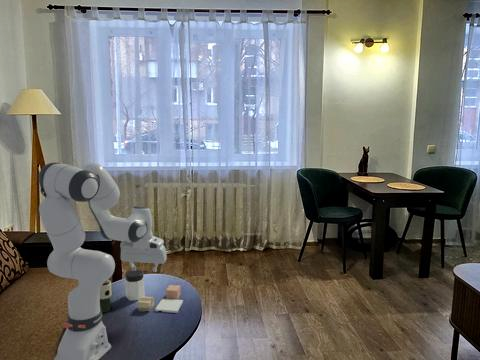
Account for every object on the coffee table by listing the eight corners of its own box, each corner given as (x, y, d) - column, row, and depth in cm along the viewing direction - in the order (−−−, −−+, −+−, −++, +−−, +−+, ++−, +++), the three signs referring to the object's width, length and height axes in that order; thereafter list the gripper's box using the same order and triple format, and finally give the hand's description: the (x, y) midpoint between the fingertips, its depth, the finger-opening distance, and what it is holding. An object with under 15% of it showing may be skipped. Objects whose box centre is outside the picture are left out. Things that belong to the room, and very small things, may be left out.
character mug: (105, 317, 178) (103, 289, 175) (90, 315, 179) (88, 287, 176) (117, 304, 188) (115, 278, 186) (103, 303, 190) (101, 277, 187)
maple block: (149, 312, 182) (149, 302, 181) (138, 311, 183) (137, 302, 182) (154, 306, 188) (153, 297, 187) (142, 305, 188) (142, 296, 187)
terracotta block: (177, 299, 194) (177, 290, 193) (166, 298, 195) (166, 290, 194) (180, 294, 199) (180, 285, 198) (169, 293, 200) (169, 284, 199)
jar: (147, 298, 195) (146, 274, 193) (130, 302, 190) (129, 278, 188) (140, 290, 202) (139, 268, 200) (123, 295, 198) (122, 271, 195)
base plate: (177, 312, 181) (177, 310, 181) (155, 311, 183) (155, 309, 183) (183, 302, 191) (182, 300, 191) (162, 300, 192) (162, 298, 192)
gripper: (117, 243, 177) (119, 272, 180) (162, 245, 175) (164, 275, 178) (122, 238, 184) (124, 266, 186) (167, 240, 181) (168, 269, 184)
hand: (144, 270), depth 182 cm, fingers open, 8 cm apart
